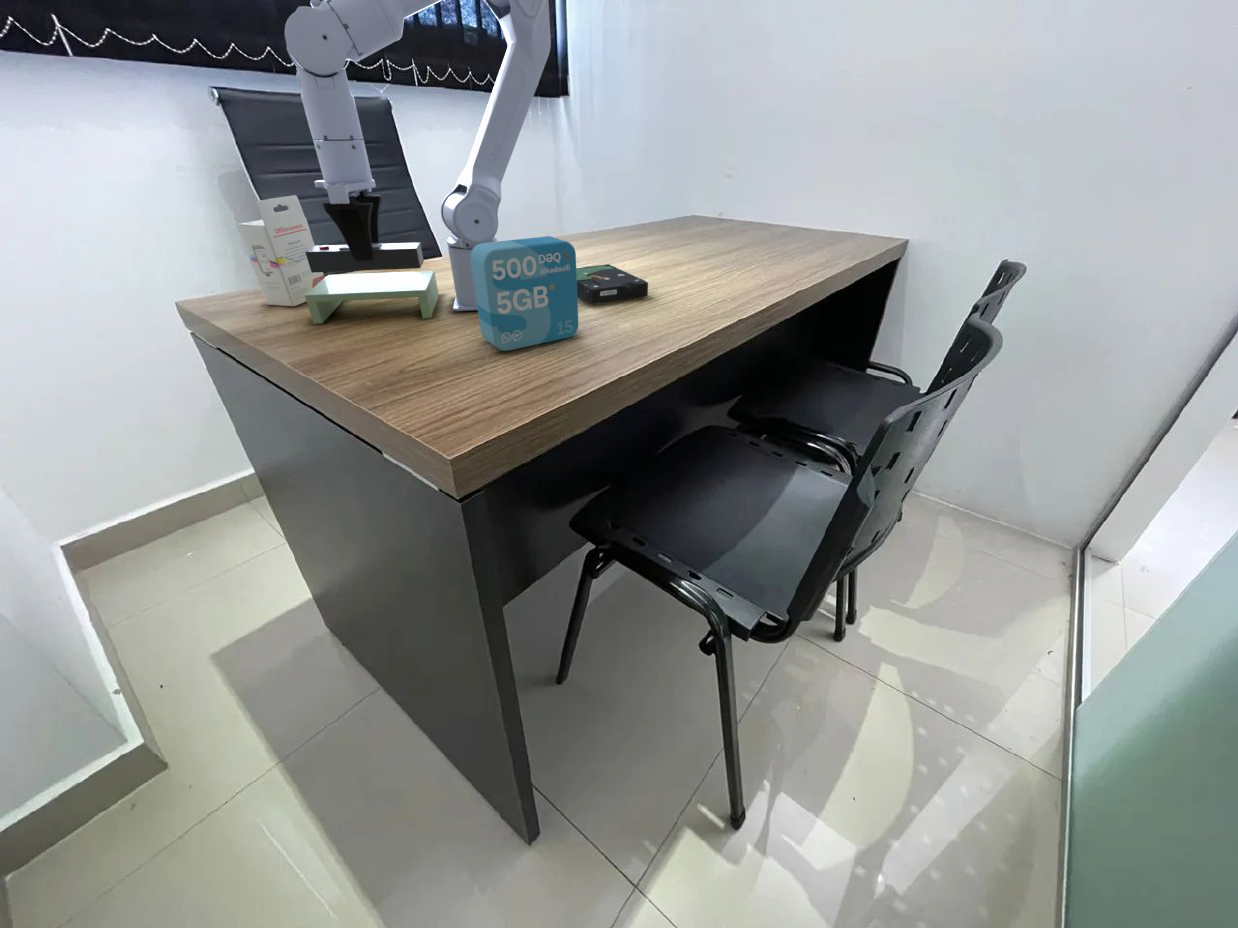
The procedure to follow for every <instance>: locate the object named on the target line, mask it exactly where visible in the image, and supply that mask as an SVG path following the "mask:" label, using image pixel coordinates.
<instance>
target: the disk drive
mask: <svg viewBox="0 0 1238 928" xmlns="http://www.w3.org/2000/svg"><path fill="white" fill-rule="evenodd" d="M576 273H577V297H578V298H581V299H582V300H584V301H586V302H587V303H590V304H591V305H601V304H609V303H618V302H619V303H620V302H625V301H631V300H638V299H641V298H642V299H644V298H647V297H648V296H649V282H648V281H646V280H645V279H643V278H640V277H638V276H636V275H633V274H632V273H630V272H627V271H624V270H622V269H620V268H618V267H616V266H615V265H611V264H609V263H607V264H598V265H591V266H590V265H587V266H582V267H576Z"/></svg>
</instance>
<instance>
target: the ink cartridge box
mask: <svg viewBox="0 0 1238 928" xmlns="http://www.w3.org/2000/svg"><path fill="white" fill-rule="evenodd" d="M279 205H280V206H281V207H287V209H285V210H283V211H275V209H274V208H278V207H279ZM255 206H256V208H257V210H258V212H259V216H260V218H261V219H259V220H258V219H257V220H253V221H249V222H242V223H237V224H236V225H237V228H238V231H239V233H240V236H241V239H242V241H243V244H244V246H245V249H246V252H247V254H248V257H249V259H250V262H251V264H252V266H253V269H254V273H255V274H256V277H257V280H258V282H259V285H260V287H261V290H262V292H263V295H264V297H265V300H266V303H267V305H268V306H279V307H280V306H281V307H282V306H283V307H297V306H299V305H301V304H304V303H307V302H306V299H305V295H306V294H307V293H308V292H309V291H310V290H311V289H312V288H314V287H315V286H316V285H317V284H318V283H319V282H321V281H322V280H323V279H324V278H325V274H324V272H315V273H312V272H311V269H310V266H309V263H308V259H307V256H306V253H305V252H307V251H308V250H310V249H311V248H313V247H314V246H316V245H315V242H314V238H313V236H312V233H311V229H310V226H309V223H308V219H307V218H306V216H305V213H304V211H303V208H302V205H301V203H300V200H299V198H298V196H297V195H295V194H293V195H287V196H279V197H272V198H267V199H261V200H256V202H255Z"/></svg>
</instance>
